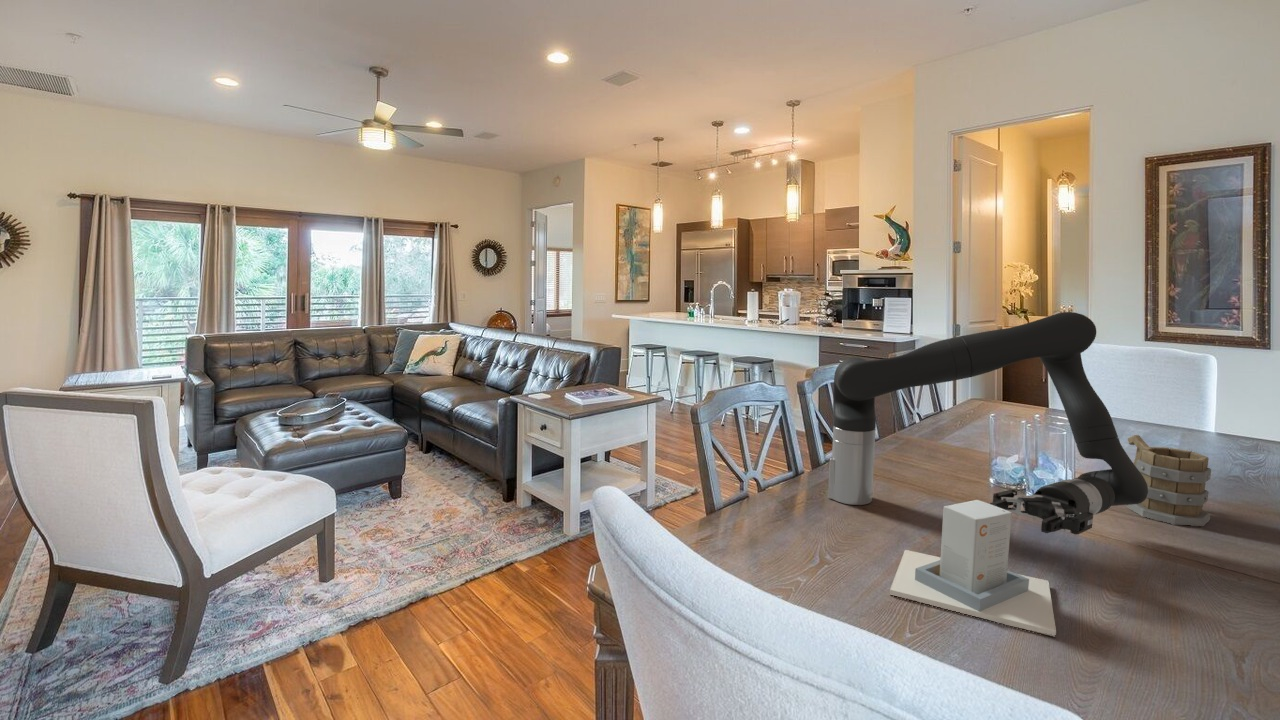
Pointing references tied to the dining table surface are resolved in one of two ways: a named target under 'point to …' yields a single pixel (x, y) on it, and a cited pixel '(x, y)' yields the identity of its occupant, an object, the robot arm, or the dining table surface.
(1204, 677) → the dining table surface
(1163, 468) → the tankard
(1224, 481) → the dining table surface
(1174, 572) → the dining table surface
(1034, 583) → the jig cradle
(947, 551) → the small box
